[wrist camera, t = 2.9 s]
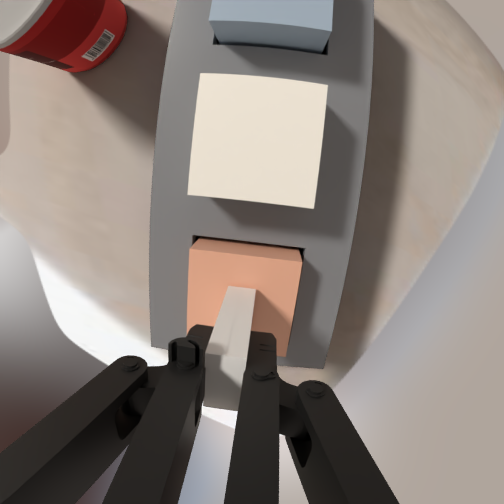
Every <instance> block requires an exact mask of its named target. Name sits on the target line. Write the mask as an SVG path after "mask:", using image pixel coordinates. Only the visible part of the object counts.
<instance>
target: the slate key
mask: <svg viewBox="0 0 504 504" xmlns="http://www.w3.org/2000/svg"><path fill="white" fill-rule="evenodd" d="M332 18H333V0H212V4H211V9H210V15H209V22H210V24H211V27H212V29H213V31H214V33H215V35H216V37H217V39H218V41H219V43H220V45H237V46H254V47H266V48H277V49H286V50H294V51H301V52H308V53H315V54H321V53H322V51H323V49H324V47H325V45H326V43H327V40H328V38H329V36H330V34H331V32H332Z"/></svg>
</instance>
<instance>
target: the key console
mask: <svg viewBox="0 0 504 504" xmlns="http://www.w3.org/2000/svg"><path fill="white" fill-rule="evenodd" d="M211 4H212V0H177V3H176V8H175V13H174V17H173V22H172V28H171V33H170V38H169V44H168V49H167V55H166V61H165V67H164V74H163V81H162V88H161V95H160V103H159V111H158V120H157V129H156V139H155V150H154V161H153V175H152V191H151V211H150V242H149V297H150V329H151V347H156V348H162V349H167V350H168V343H169V342H170V341H171V340H173V339H176V338H181V337H186V336H187V297H188V270H189V250H190V248H191V247H192V245H193V244H194V243H195V242H196V241H197V240H198V239H199V238H200V237H201V236H207V237H216V238H225V239H233V240H242V241H250V242H259V243H267V244H275V245H284V246H292V247H298V249H299V252H300V256H301V259H302V268H301V274H300V280H299V286H298V292H297V298H296V304H295V309H294V315H293V321H292V326H291V331H290V337H289V342H288V347H287V353H286V357H281V356H277V365H280V366H291V367H304V368H317V369H323V368H324V364H325V360H326V357H327V353H328V349H329V345H330V341H331V337H332V333H333V329H334V325H335V321H336V317H337V313H338V308H339V304H340V299H341V295H342V290H343V286H344V281H345V276H346V271H347V266H348V261H349V256H350V251H351V245H352V240H353V234H354V229H355V223H356V217H357V210H358V204H359V197H360V191H361V184H362V176H363V169H364V161H365V152H366V143H367V134H368V124H369V113H370V100H371V86H372V68H373V42H374V0H333V18H332V32H331V34H330V36H329V38H328V40H327V43H326V45H325V47H324V49H323V51H322V53H321V54H315V53H308V52H301V51H294V50H286V49H277V48H266V47H254V46H237V45H220V43H219V41H218V39H217V37H216V35H215V33H214V31H213V29H212V27H211V24H210V22H209V15H210V9H211ZM200 73H216V74H236V75H251V76H263V77H273V78H282V79H290V80H298V81H305V82H312V83H318V84H324V85H328V89H327V100H326V110H325V120H324V130H323V139H322V148H321V156H320V165H319V173H318V181H317V188H316V196H315V203H314V209H311V208H303V207H295V206H287V205H279V204H271V203H262V202H254V201H245V200H235V199H226V198H216V197H206V196H195V195H187V194H188V181H189V170H190V158H191V148H192V138H193V128H194V119H195V111H196V102H197V94H198V87H199V79H200Z"/></svg>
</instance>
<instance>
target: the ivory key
mask: <svg viewBox="0 0 504 504" xmlns="http://www.w3.org/2000/svg"><path fill="white" fill-rule="evenodd" d="M327 89H328V85H324V84H318V83H312V82H305V81H298V80H290V79H282V78H273V77H263V76H251V75H236V74H216V73H200V79H199V87H198V94H197V102H196V111H195V119H194V128H193V138H192V148H191V158H190V170H189V181H188V194H187V195H195V196H206V197H216V198H226V199H235V200H245V201H254V202H262V203H271V204H279V205H287V206H295V207H303V208H311V209H314V203H315V196H316V188H317V181H318V173H319V165H320V156H321V148H322V139H323V130H324V120H325V110H326V100H327Z"/></svg>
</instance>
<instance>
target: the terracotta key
mask: <svg viewBox="0 0 504 504" xmlns="http://www.w3.org/2000/svg"><path fill="white" fill-rule="evenodd" d="M301 268H302V259H301V256H300V252H299V249H298V247H292V246H284V245H275V244H267V243H259V242H250V241H242V240H233V239H225V238H216V237H207V236H201V237H200V238H199V239H198V240H197V241H196V242H195V243H194V244H193V245H192V247H191V248H190V250H189V270H188V297H187V334H188V332H189V330H190V328H192V327H193V326H195V325H196V324H200V325H207V326H215V323H216V320H217V317H218V314H219V311H220V308H221V305H222V303H223V300H224V297H225V294H226V291H227V288H228V286H235V287H243V288H251V289H256V293H255V301H254V309H253V318H252V326H251V331H258V332H267V333H272V334H273V335H274V337H275V338H276V339H277V356H281V357H286V353H287V347H288V342H289V337H290V331H291V326H292V321H293V315H294V309H295V304H296V298H297V292H298V286H299V280H300V274H301Z"/></svg>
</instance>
